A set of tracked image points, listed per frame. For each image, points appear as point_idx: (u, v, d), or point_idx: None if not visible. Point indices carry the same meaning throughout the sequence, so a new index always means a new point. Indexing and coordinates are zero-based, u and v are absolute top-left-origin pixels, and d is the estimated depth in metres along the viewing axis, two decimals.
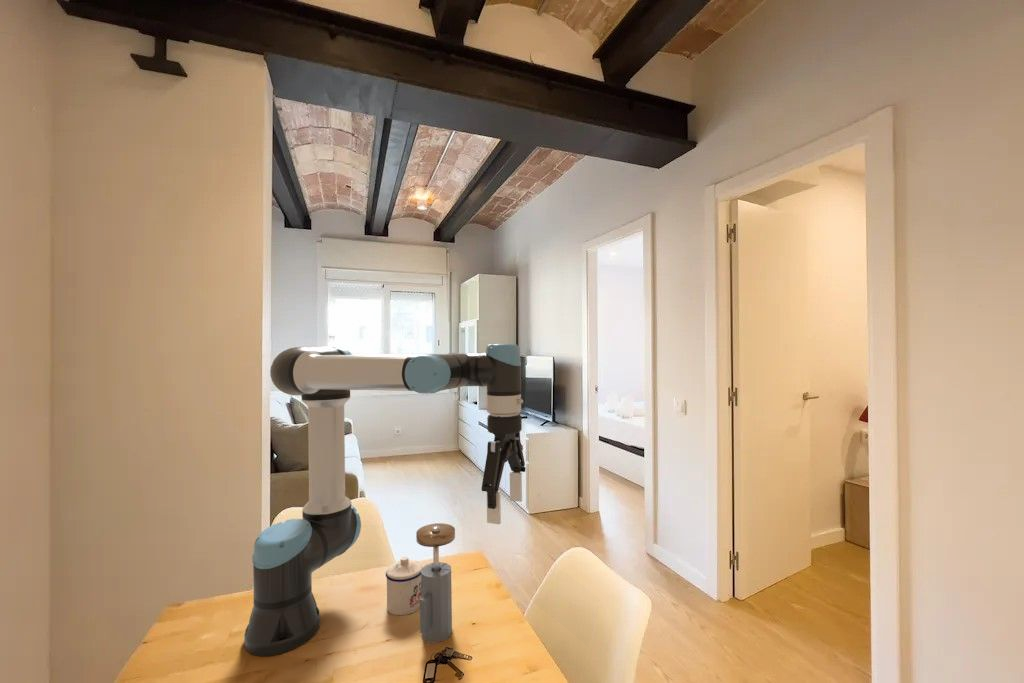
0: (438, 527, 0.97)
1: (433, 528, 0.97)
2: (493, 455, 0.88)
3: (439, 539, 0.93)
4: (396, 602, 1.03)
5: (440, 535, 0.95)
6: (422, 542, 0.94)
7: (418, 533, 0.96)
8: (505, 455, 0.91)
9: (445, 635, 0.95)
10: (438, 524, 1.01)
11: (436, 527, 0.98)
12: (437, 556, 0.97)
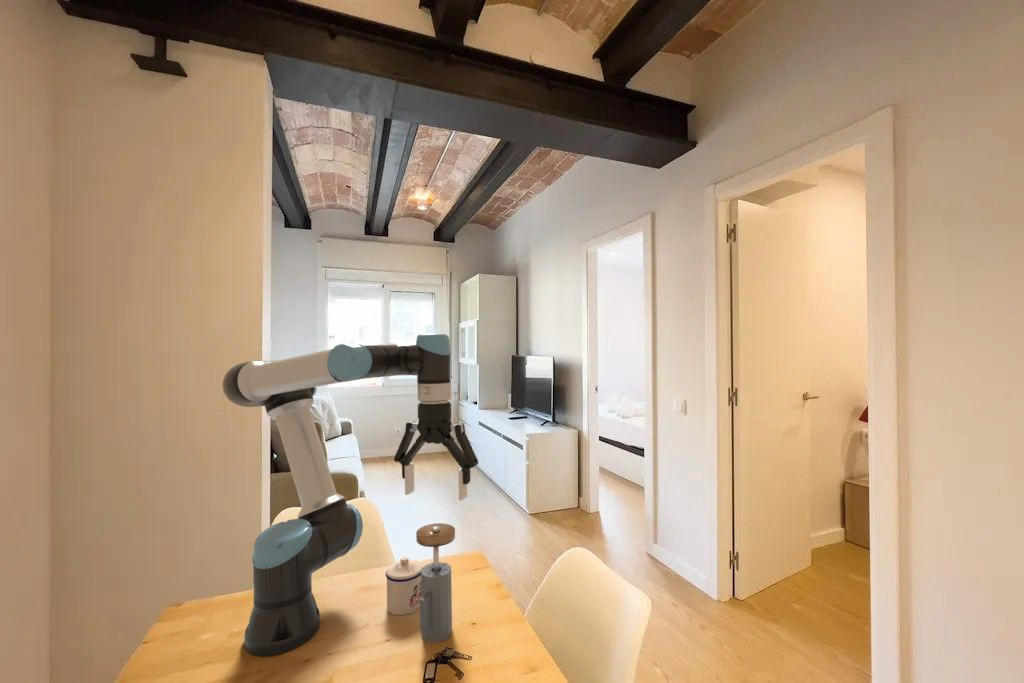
0: (438, 527, 0.97)
1: (433, 528, 0.97)
2: None
3: (439, 539, 0.93)
4: (396, 602, 1.03)
5: (440, 535, 0.95)
6: (422, 542, 0.94)
7: (418, 533, 0.96)
8: None
9: (445, 635, 0.95)
10: (438, 524, 1.01)
11: (436, 527, 0.98)
12: (437, 556, 0.97)
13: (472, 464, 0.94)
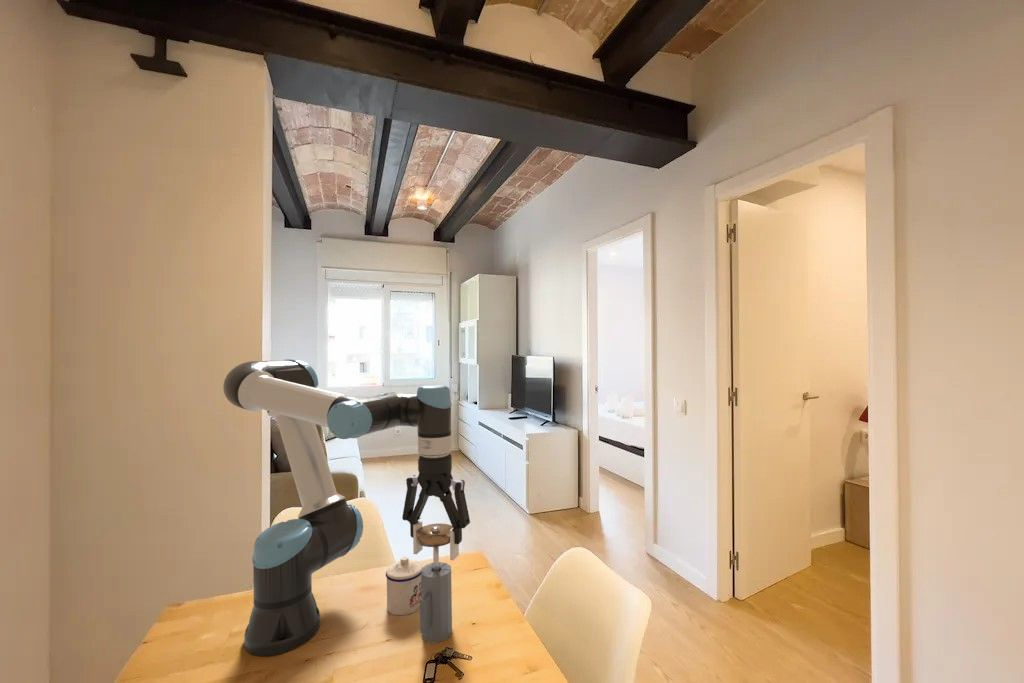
0: (438, 527, 0.97)
1: (433, 528, 0.97)
2: None
3: (439, 540, 0.93)
4: (396, 602, 1.03)
5: (440, 535, 0.95)
6: (422, 542, 0.94)
7: (418, 533, 0.96)
8: None
9: (445, 635, 0.95)
10: (438, 524, 1.01)
11: (436, 527, 0.98)
12: (437, 556, 0.97)
13: (463, 525, 0.94)
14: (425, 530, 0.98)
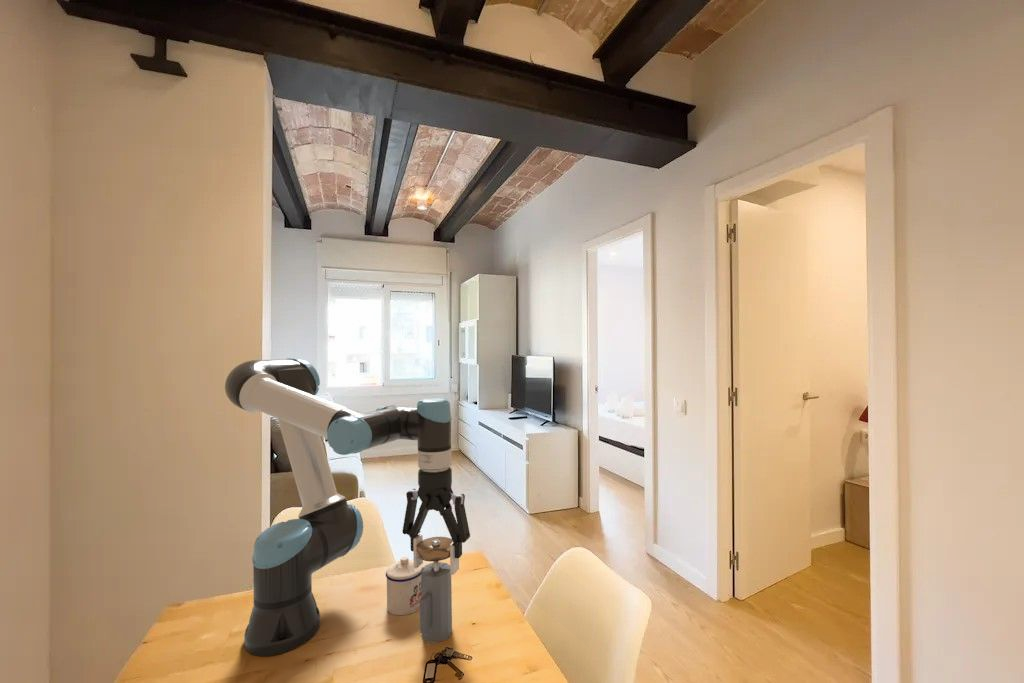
0: (438, 541, 0.97)
1: (433, 542, 0.97)
2: None
3: (439, 554, 0.93)
4: (396, 602, 1.03)
5: (440, 549, 0.95)
6: (422, 556, 0.94)
7: (418, 547, 0.96)
8: None
9: (445, 635, 0.95)
10: (438, 538, 1.01)
11: (436, 541, 0.97)
12: (437, 570, 0.97)
13: (464, 539, 0.94)
14: (425, 544, 0.98)
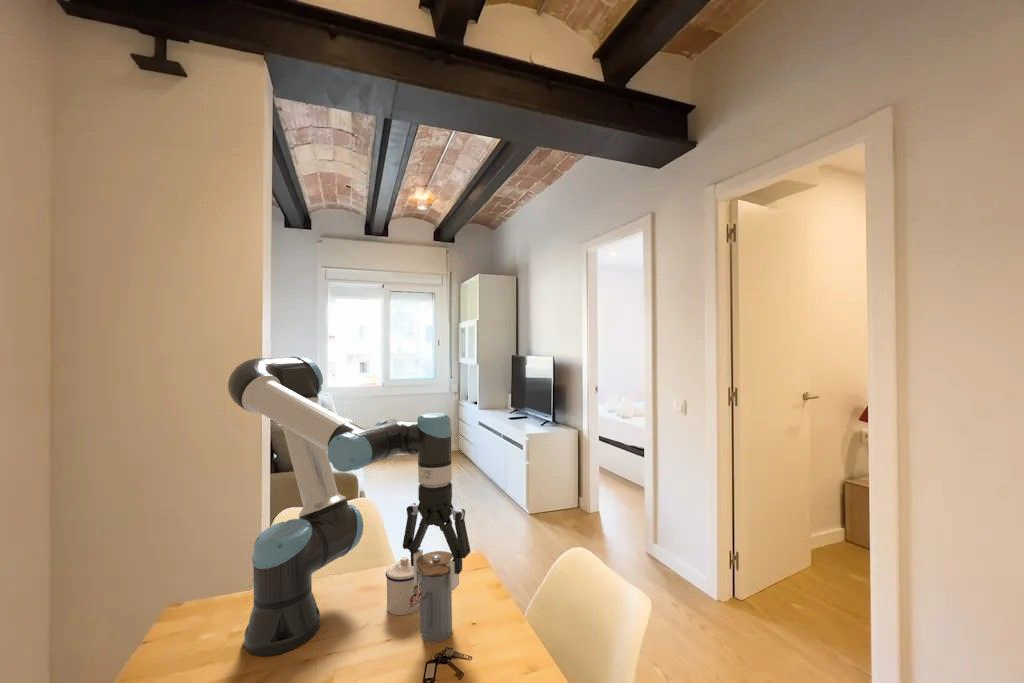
0: (438, 556, 0.97)
1: (433, 557, 0.97)
2: None
3: (439, 570, 0.93)
4: (396, 602, 1.03)
5: (440, 565, 0.95)
6: (422, 572, 0.94)
7: (418, 562, 0.96)
8: None
9: (445, 635, 0.95)
10: (438, 552, 1.01)
11: (436, 556, 0.97)
12: None
13: (464, 555, 0.94)
14: (425, 559, 0.98)
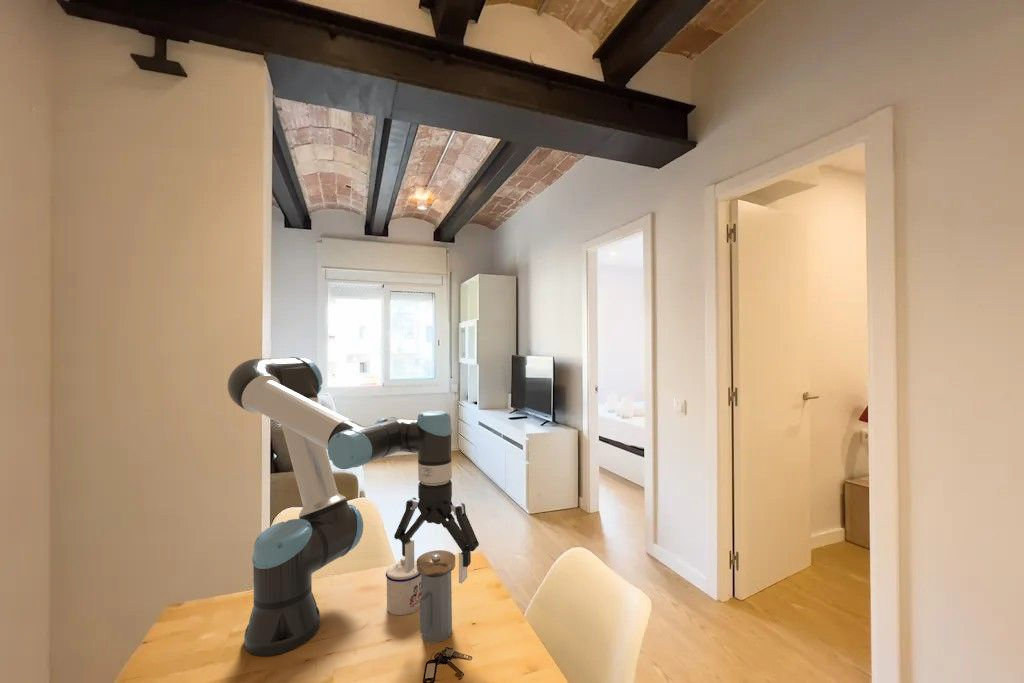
0: (438, 555, 0.97)
1: (433, 556, 0.97)
2: None
3: (439, 569, 0.93)
4: (396, 602, 1.03)
5: (440, 564, 0.95)
6: (422, 571, 0.94)
7: (418, 562, 0.96)
8: (418, 517, 0.97)
9: (445, 635, 0.95)
10: (438, 551, 1.01)
11: (436, 555, 0.97)
12: None
13: (472, 548, 0.93)
14: (425, 558, 0.98)
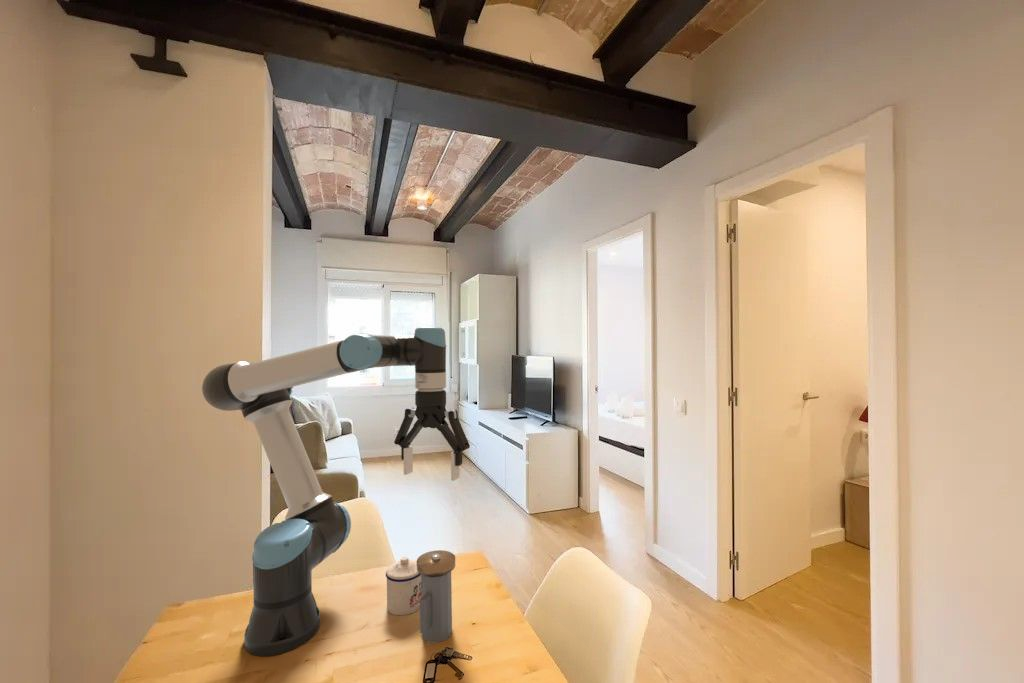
0: (438, 555, 0.97)
1: (433, 556, 0.97)
2: None
3: (439, 569, 0.93)
4: (396, 602, 1.03)
5: (440, 564, 0.95)
6: (422, 571, 0.94)
7: (418, 562, 0.96)
8: None
9: (445, 635, 0.95)
10: (438, 551, 1.01)
11: (436, 555, 0.97)
12: None
13: (463, 447, 1.02)
14: (425, 558, 0.98)
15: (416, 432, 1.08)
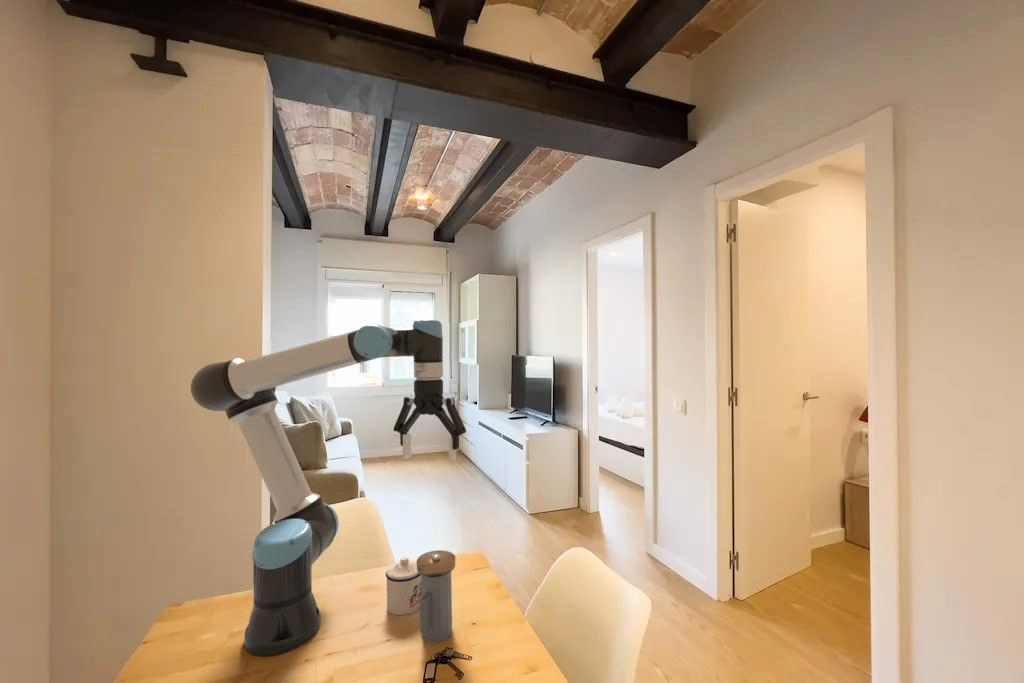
0: (438, 555, 0.97)
1: (433, 556, 0.97)
2: None
3: (439, 569, 0.93)
4: (396, 602, 1.03)
5: (440, 564, 0.95)
6: (422, 571, 0.94)
7: (418, 562, 0.96)
8: None
9: (445, 635, 0.95)
10: (438, 551, 1.01)
11: (436, 555, 0.97)
12: None
13: (460, 432, 1.09)
14: (425, 558, 0.98)
15: (414, 419, 1.14)
